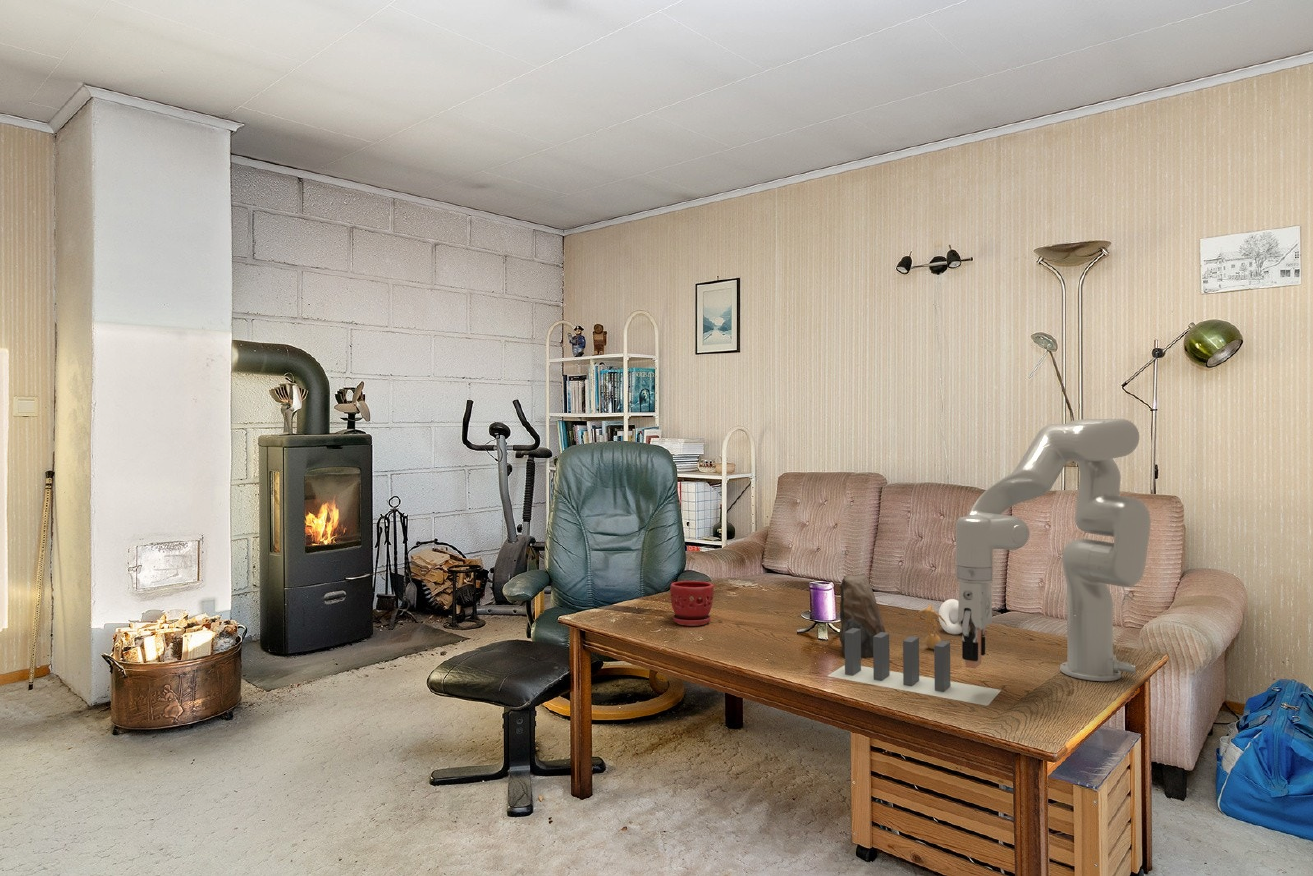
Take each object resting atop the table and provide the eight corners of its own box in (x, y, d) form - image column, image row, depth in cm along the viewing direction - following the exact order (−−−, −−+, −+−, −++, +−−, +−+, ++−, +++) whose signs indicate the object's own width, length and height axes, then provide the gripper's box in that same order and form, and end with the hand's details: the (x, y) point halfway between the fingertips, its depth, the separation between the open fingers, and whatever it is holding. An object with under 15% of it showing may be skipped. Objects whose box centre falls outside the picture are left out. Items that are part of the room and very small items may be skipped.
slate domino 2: (889, 675, 189) (889, 633, 189) (881, 681, 185) (881, 637, 185) (881, 674, 190) (880, 631, 190) (873, 679, 186) (873, 636, 186)
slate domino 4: (950, 686, 180) (950, 641, 180) (943, 692, 176) (943, 647, 176) (941, 684, 182) (941, 640, 182) (934, 690, 178) (934, 645, 177)
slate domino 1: (861, 670, 193) (860, 629, 193) (853, 675, 189) (852, 633, 189) (853, 669, 194) (852, 627, 194) (844, 674, 190) (844, 632, 190)
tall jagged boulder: (843, 660, 202) (842, 581, 202) (827, 647, 215) (826, 572, 215) (891, 658, 204) (890, 580, 203) (873, 645, 216) (872, 571, 216)
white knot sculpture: (939, 636, 224) (939, 604, 224) (937, 626, 236) (937, 596, 236) (982, 639, 221) (982, 607, 221) (979, 628, 232) (978, 598, 232)
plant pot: (715, 627, 237) (714, 587, 237) (670, 628, 237) (670, 587, 237) (712, 617, 250) (712, 579, 250) (670, 617, 250) (670, 579, 250)
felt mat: (1001, 691, 177) (1001, 690, 177) (987, 707, 168) (987, 705, 168) (847, 665, 199) (847, 663, 199) (826, 677, 189) (826, 676, 189)
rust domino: (981, 663, 176) (981, 617, 176) (975, 668, 172) (975, 622, 172) (971, 661, 177) (971, 616, 177) (965, 667, 173) (965, 620, 173)
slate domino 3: (919, 680, 185) (919, 637, 184) (912, 686, 181) (911, 642, 180) (910, 679, 186) (910, 636, 186) (903, 685, 182) (902, 641, 182)
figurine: (951, 650, 211) (951, 604, 210) (942, 655, 206) (942, 608, 206) (921, 644, 216) (921, 600, 216) (911, 649, 212) (911, 604, 212)
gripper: (981, 581, 165) (981, 669, 166) (1001, 570, 179) (1001, 651, 179) (944, 577, 170) (944, 663, 170) (967, 566, 184) (966, 646, 184)
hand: (973, 656), depth 175 cm, fingers closed on rust domino, 4 cm apart
